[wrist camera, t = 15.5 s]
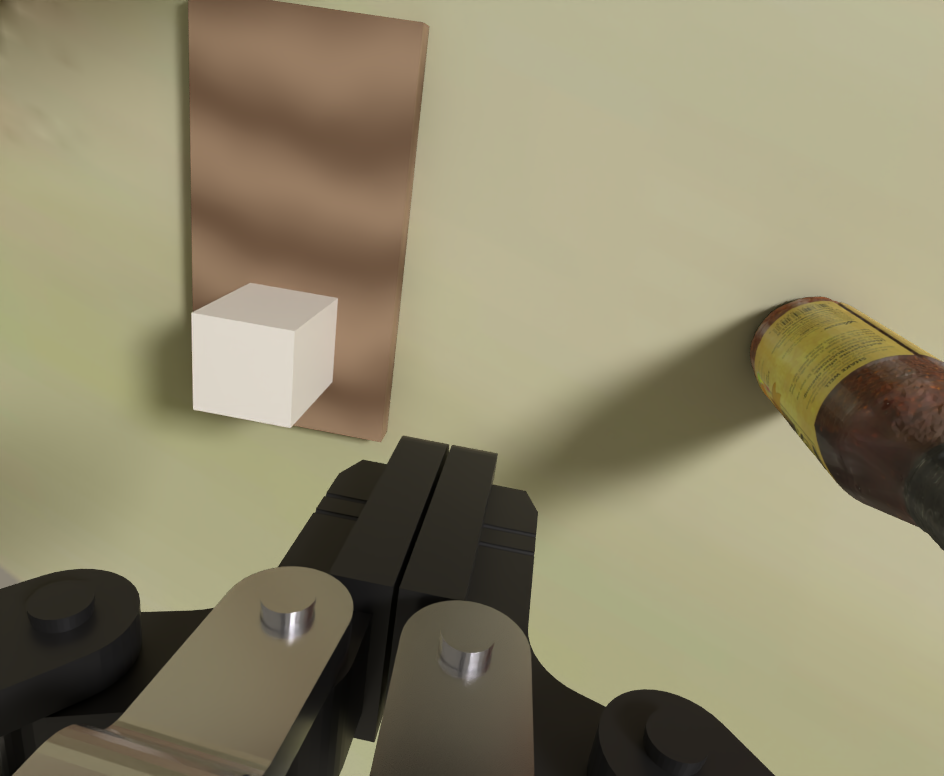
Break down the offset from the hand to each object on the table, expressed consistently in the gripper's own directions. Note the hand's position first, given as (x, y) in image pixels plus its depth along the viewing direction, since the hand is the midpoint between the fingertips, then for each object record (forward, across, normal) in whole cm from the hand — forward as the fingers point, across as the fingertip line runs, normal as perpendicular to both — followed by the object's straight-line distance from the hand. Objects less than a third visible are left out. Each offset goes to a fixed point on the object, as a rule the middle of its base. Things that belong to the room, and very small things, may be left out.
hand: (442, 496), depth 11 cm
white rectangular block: (+28, +13, +8) cm, 31 cm away
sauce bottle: (+29, -16, +4) cm, 34 cm away
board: (+29, +13, +2) cm, 32 cm away
